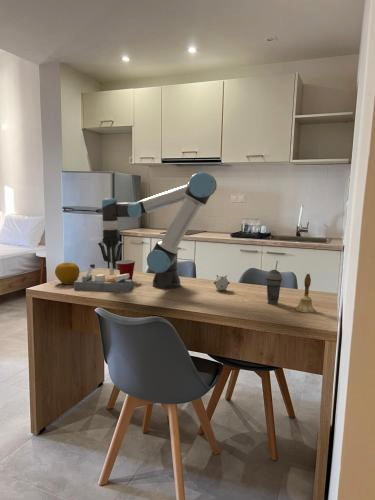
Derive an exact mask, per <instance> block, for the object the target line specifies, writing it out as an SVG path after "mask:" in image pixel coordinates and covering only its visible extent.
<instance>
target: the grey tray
mask: <svg viewBox="0 0 375 500" xmlns="http://www.w3.org/2000/svg"><path fill="white" fill-rule="evenodd" d="M131 289H133V279H132V280H125V279H122V280H117V281H116V280H115V282H107V278H105V281H104V282H95V277H93V275H92V273H91V276H90V279H88V280H87V277H86V276H82V277H81V278H78V279H77V281H75V282H74V284H73V290H74V291H75V290H76V291H96V292H97V291H98V292H99V291H101V292H119V293H121V292H122V293H128V292H129V291H130V290H131Z"/></svg>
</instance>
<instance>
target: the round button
mask: <svg viewBox="0 0 375 500" xmlns="http://www.w3.org/2000/svg"><path fill="white" fill-rule="evenodd" d="M106 279H107V282H115V276H114V277H113V276H110V277H107V278H106Z"/></svg>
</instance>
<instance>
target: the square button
mask: <svg viewBox="0 0 375 500" xmlns="http://www.w3.org/2000/svg"><path fill="white" fill-rule="evenodd" d="M94 278H95V282H104V281H105V279H106V275H105V274H104V273H103V274H101V273H98V274H96V275H94Z"/></svg>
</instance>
